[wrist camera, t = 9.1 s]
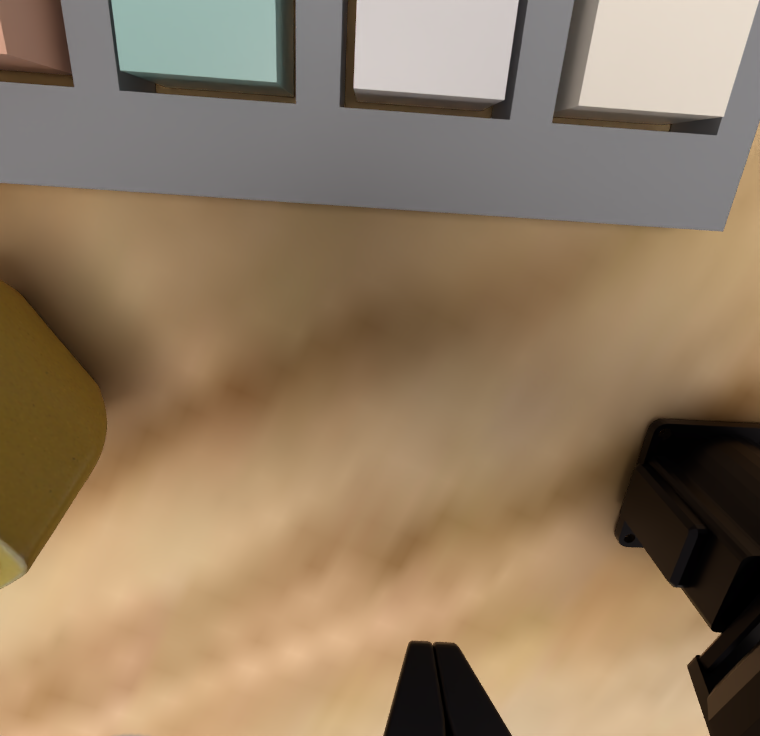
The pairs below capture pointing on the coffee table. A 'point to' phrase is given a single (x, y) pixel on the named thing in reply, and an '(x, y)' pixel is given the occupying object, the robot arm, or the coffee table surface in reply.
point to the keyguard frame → (375, 136)
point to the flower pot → (40, 432)
